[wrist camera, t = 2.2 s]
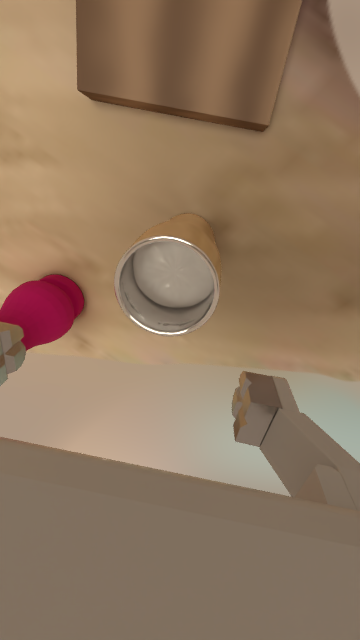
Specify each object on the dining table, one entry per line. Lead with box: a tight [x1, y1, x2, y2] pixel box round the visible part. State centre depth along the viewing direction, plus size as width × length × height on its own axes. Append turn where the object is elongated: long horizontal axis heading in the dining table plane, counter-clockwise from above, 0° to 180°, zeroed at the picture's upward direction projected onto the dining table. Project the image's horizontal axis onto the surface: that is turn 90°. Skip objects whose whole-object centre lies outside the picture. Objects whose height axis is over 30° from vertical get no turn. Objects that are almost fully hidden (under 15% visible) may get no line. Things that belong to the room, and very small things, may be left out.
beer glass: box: [114, 213, 222, 336], centre depth 23 cm, size 7×7×15 cm
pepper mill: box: [0, 275, 84, 351], centre depth 25 cm, size 7×7×20 cm
